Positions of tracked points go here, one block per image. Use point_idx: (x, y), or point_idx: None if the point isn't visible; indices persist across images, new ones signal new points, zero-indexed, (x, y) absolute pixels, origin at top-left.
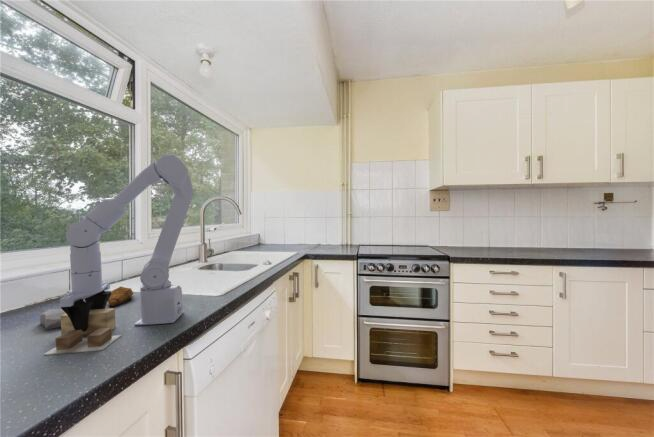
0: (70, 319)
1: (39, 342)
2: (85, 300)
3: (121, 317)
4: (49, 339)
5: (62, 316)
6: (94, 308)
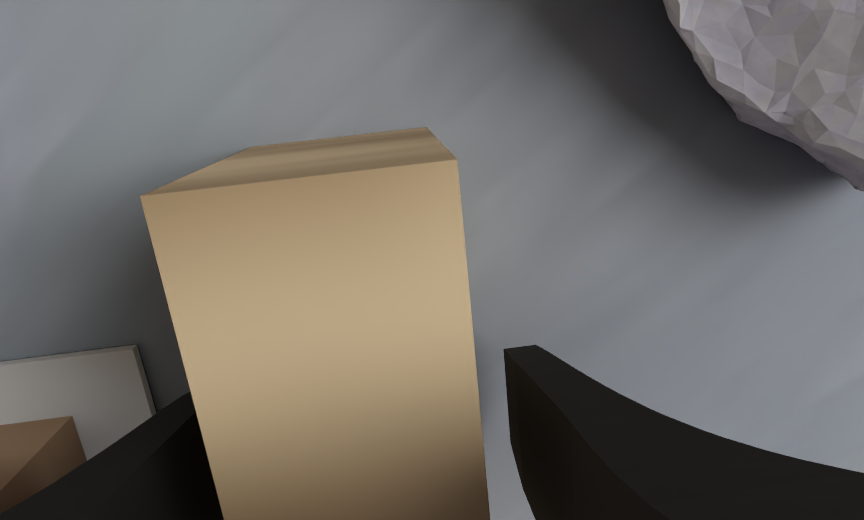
0: (46, 494)
1: (45, 17)
2: (652, 513)
3: (774, 436)
4: (142, 75)
5: (160, 227)
6: (579, 514)
